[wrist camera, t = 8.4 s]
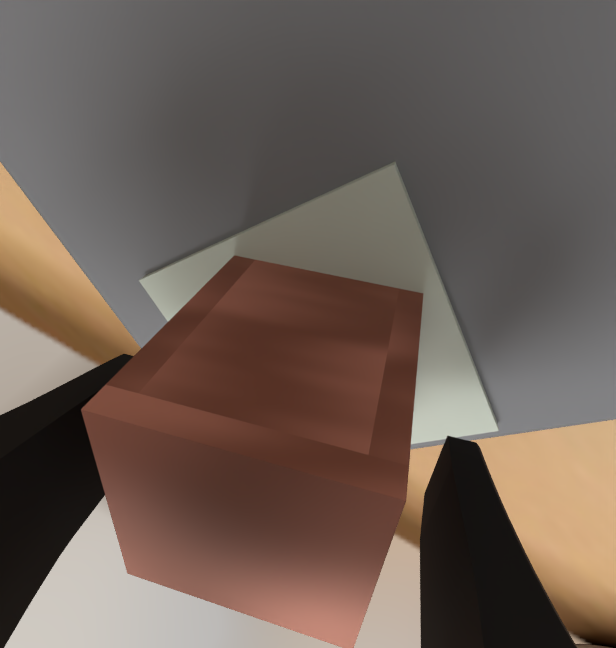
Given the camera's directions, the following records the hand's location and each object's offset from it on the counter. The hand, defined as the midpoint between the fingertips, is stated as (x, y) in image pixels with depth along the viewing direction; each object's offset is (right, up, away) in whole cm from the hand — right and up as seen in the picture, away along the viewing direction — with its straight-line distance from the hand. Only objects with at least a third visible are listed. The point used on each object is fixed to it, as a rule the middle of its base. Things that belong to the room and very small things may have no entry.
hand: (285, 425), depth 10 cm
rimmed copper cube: (+1, +2, +2) cm, 3 cm away
